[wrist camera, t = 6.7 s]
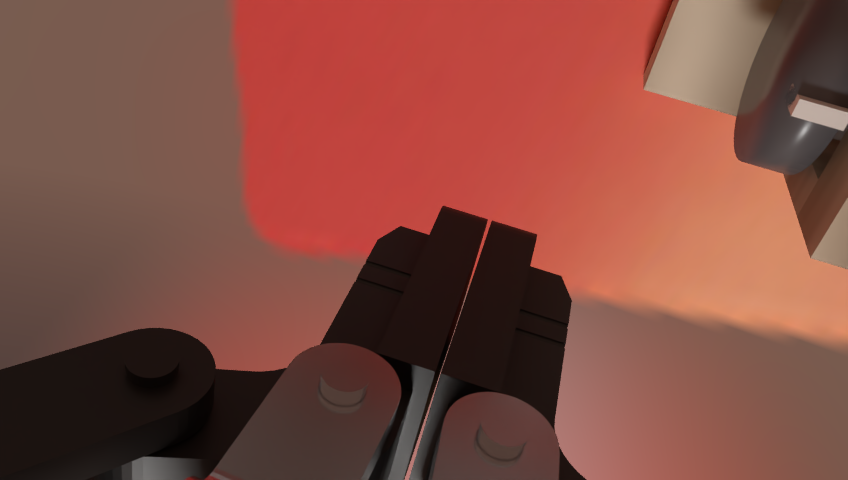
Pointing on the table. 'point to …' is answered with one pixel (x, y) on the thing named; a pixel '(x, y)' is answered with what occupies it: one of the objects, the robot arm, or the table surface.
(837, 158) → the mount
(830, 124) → the knob
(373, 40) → the table surface
